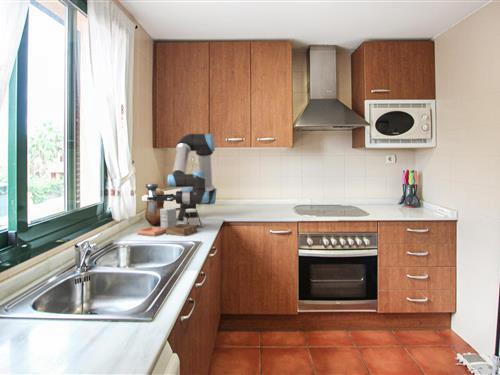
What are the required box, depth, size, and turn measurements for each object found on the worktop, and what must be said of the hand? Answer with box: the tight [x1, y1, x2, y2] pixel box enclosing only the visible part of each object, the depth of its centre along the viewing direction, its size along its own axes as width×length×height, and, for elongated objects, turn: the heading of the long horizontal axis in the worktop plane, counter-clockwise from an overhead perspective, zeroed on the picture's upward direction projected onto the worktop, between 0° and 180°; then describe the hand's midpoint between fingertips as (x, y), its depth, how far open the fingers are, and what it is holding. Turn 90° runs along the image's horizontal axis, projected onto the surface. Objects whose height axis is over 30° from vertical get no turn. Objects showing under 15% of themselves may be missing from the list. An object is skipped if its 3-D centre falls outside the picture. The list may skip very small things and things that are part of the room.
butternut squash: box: [144, 187, 165, 227], centre depth 240 cm, size 14×13×25 cm
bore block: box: [165, 223, 198, 237], centre depth 216 cm, size 13×13×4 cm
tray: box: [137, 226, 166, 237], centre depth 215 cm, size 13×13×2 cm
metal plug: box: [145, 183, 159, 215], centre depth 214 cm, size 7×7×18 cm
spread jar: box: [183, 208, 205, 228], centre depth 234 cm, size 12×11×12 cm
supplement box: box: [160, 207, 178, 228], centre depth 231 cm, size 7×7×13 cm
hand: (143, 197), depth 213 cm, fingers closed on metal plug, 5 cm apart
